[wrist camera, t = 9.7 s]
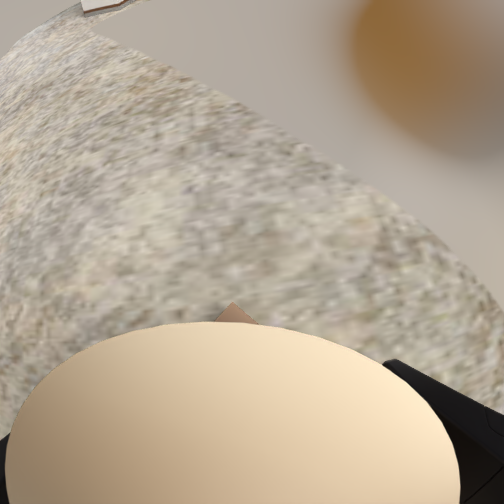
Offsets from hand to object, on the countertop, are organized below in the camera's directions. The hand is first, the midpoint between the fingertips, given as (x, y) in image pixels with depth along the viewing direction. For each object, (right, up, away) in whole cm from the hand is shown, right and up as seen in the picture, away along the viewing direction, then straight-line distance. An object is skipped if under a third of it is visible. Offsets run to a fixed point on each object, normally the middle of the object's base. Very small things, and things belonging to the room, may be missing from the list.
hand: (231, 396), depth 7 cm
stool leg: (0, -5, +7) cm, 8 cm away
